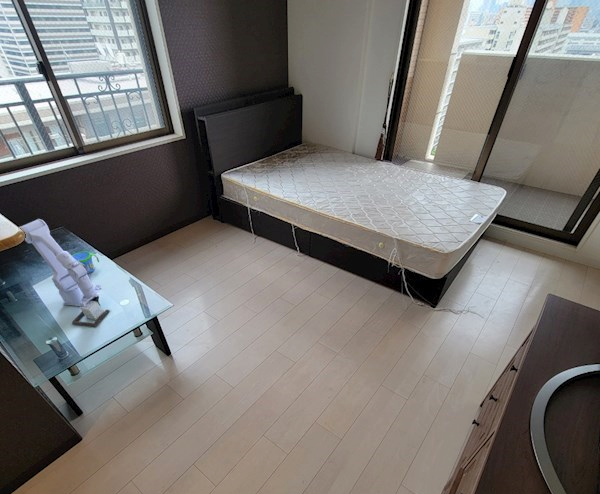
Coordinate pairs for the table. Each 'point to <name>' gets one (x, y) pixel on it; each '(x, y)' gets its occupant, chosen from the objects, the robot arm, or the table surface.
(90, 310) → the white cardboard box
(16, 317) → the table surface
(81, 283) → the robot arm
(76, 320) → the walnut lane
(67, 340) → the table surface
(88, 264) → the snack cup
